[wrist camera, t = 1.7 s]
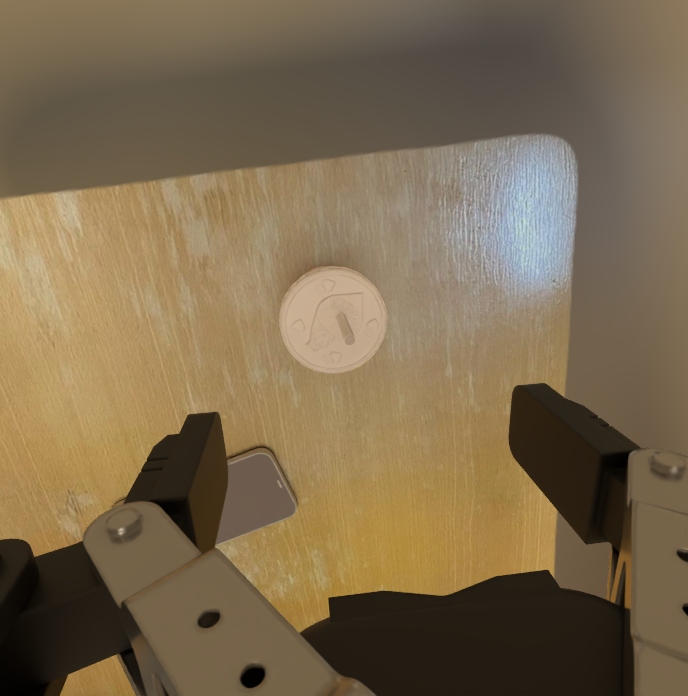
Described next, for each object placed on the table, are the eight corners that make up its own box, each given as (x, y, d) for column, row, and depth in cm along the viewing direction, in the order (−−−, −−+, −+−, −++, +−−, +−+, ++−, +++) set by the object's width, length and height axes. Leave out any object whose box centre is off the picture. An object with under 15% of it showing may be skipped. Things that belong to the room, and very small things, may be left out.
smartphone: (103, 511, 39) (267, 448, 38) (107, 504, 39) (267, 442, 39) (147, 572, 41) (301, 514, 41) (150, 564, 42) (300, 507, 41)
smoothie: (380, 286, 36) (432, 342, 23) (326, 344, 37) (344, 430, 24) (320, 229, 34) (338, 254, 21) (264, 292, 35) (248, 354, 22)
